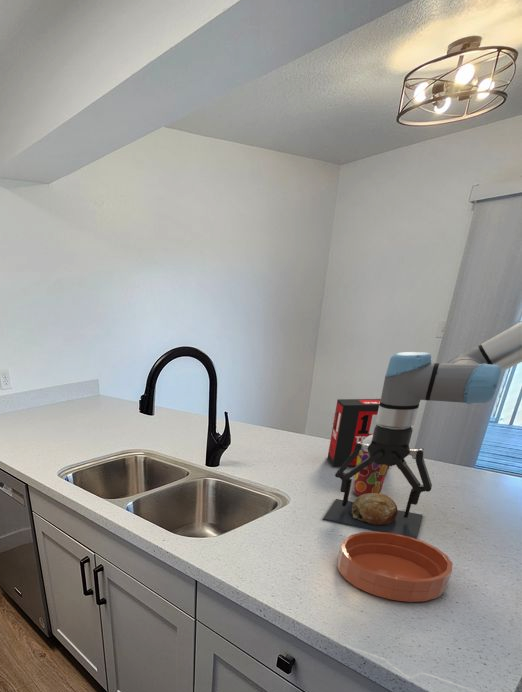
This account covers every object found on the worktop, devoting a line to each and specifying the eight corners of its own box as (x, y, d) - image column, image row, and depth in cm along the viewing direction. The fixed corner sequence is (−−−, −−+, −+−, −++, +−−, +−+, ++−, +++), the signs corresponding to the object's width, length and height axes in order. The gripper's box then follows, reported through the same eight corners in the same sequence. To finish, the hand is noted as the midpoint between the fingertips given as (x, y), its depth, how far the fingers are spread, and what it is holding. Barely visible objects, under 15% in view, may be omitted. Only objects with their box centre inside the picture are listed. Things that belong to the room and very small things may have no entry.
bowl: (447, 566, 89) (454, 545, 86) (441, 616, 76) (449, 593, 73) (347, 543, 99) (351, 524, 97) (327, 583, 86) (331, 562, 84)
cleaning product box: (332, 467, 142) (343, 405, 133) (327, 458, 150) (337, 399, 141) (388, 468, 138) (404, 404, 129) (380, 459, 146) (394, 398, 137)
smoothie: (376, 488, 125) (392, 419, 116) (387, 500, 118) (405, 427, 109) (345, 488, 126) (359, 419, 117) (354, 499, 119) (369, 427, 110)
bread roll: (344, 523, 114) (339, 501, 109) (374, 501, 115) (370, 478, 110) (377, 540, 106) (373, 516, 101) (409, 516, 106) (406, 491, 102)
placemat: (422, 515, 109) (422, 514, 109) (416, 539, 99) (416, 537, 99) (335, 500, 120) (336, 498, 120) (322, 519, 110) (323, 518, 110)
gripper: (462, 427, 94) (435, 514, 104) (338, 416, 108) (324, 494, 118) (461, 435, 89) (433, 527, 99) (331, 423, 103) (317, 504, 112)
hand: (374, 509), depth 108 cm, fingers open, 13 cm apart
